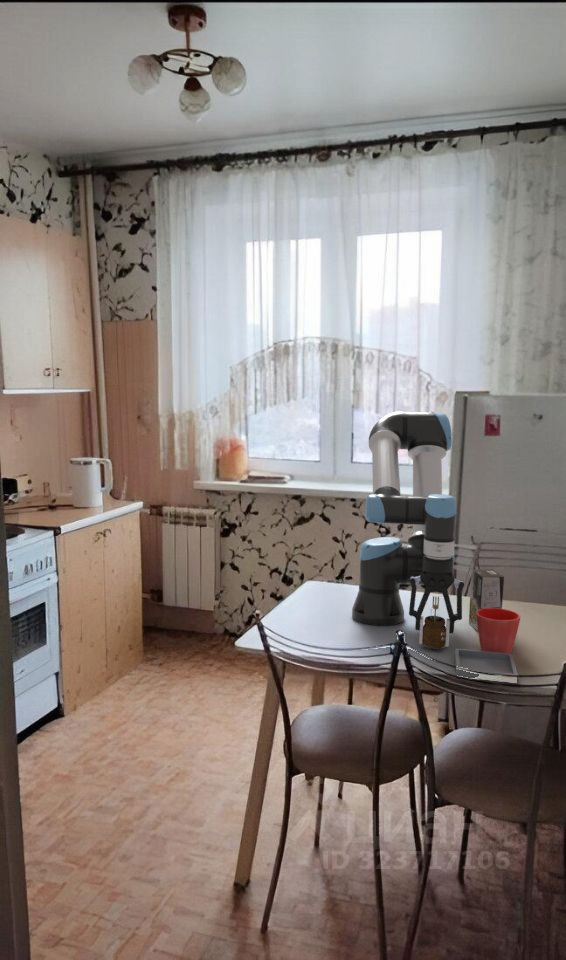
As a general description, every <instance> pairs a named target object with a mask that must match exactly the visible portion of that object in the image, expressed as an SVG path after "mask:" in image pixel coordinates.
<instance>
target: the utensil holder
mask: <svg viewBox="0 0 566 960" xmlns="http://www.w3.org/2000/svg"><path fill="white" fill-rule="evenodd" d="M439 604H440V596H432V607H430V615H428V616H426V617H424V620H423V637H422V645H423V646H424V647H425V648H429V649H433V650H436V649H437V650H438V649H439V650H440V649H443V648H444V647H446V646H445V643H446V620H445V618H443V617H442V616H440V615H439V614H437V611H439V609H440V607H439V606H440V605H439ZM433 610H434V614H432V612H433ZM436 614H437V615H436Z"/></svg>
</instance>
